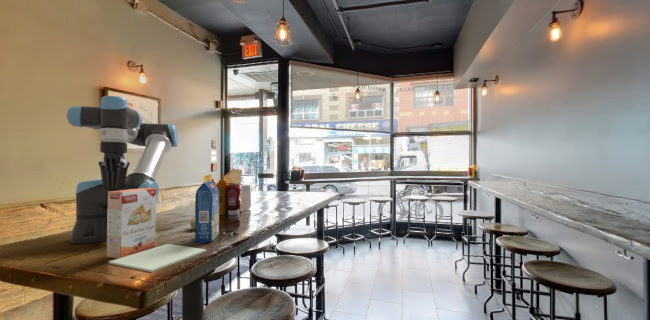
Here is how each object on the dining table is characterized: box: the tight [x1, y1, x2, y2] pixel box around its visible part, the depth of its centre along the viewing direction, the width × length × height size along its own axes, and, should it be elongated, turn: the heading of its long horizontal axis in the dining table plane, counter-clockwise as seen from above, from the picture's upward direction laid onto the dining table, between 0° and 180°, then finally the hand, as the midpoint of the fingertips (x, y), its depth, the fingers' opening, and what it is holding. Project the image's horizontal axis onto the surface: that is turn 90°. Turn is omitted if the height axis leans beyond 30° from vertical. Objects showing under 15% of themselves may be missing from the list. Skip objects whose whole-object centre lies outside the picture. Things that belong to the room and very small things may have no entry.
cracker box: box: [106, 188, 157, 259], centre depth 97 cm, size 14×6×21 cm, turn 168°
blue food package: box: [194, 174, 220, 243], centre depth 115 cm, size 6×12×25 cm, turn 8°
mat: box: [108, 243, 208, 273], centre depth 92 cm, size 18×20×1 cm
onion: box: [189, 216, 195, 231], centre depth 130 cm, size 8×8×7 cm
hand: (113, 209), depth 101 cm, fingers closed
